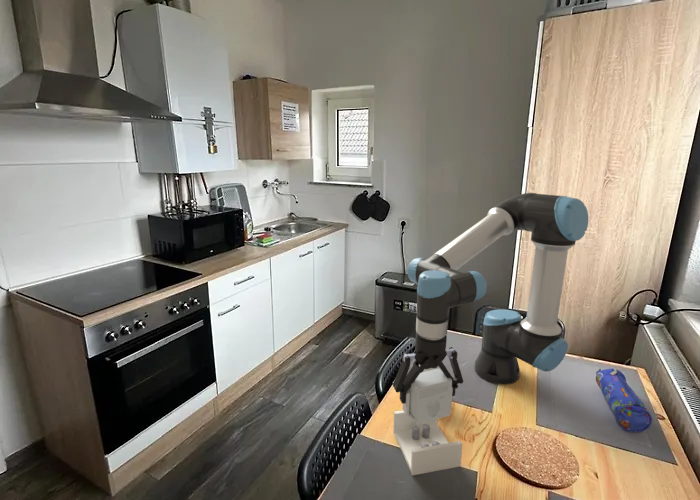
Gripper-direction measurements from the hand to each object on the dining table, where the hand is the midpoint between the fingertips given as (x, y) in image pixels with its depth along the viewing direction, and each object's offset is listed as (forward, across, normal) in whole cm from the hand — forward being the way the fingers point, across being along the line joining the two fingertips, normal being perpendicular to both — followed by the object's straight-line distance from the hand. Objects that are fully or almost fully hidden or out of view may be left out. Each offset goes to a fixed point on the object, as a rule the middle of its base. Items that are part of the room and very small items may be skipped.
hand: (426, 409), depth 99 cm
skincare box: (+1, 0, 0) cm, 1 cm away
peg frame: (+12, 0, 0) cm, 12 cm away
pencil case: (+13, -64, -2) cm, 66 cm away
